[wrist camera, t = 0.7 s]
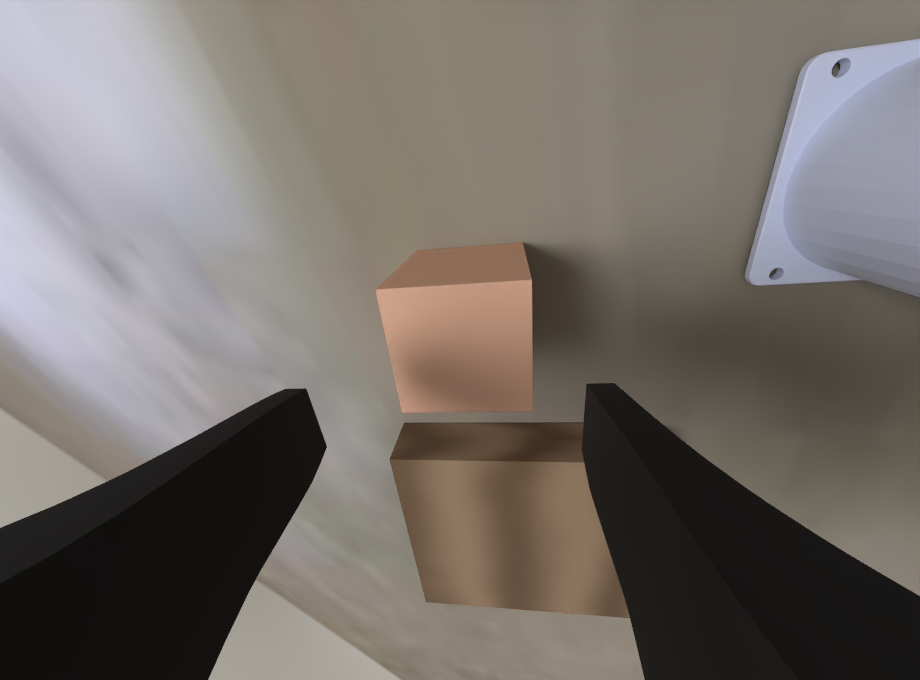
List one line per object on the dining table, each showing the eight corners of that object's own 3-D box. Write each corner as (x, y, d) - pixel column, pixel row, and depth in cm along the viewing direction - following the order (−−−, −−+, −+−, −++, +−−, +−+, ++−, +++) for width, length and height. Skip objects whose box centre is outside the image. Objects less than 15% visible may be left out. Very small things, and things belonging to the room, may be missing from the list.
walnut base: (642, 423, 19) (665, 463, 17) (617, 570, 25) (630, 618, 23) (404, 423, 21) (389, 459, 19) (433, 559, 27) (426, 602, 25)
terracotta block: (522, 242, 16) (531, 279, 10) (524, 339, 18) (532, 411, 13) (417, 250, 16) (375, 289, 11) (431, 342, 19) (402, 412, 13)
